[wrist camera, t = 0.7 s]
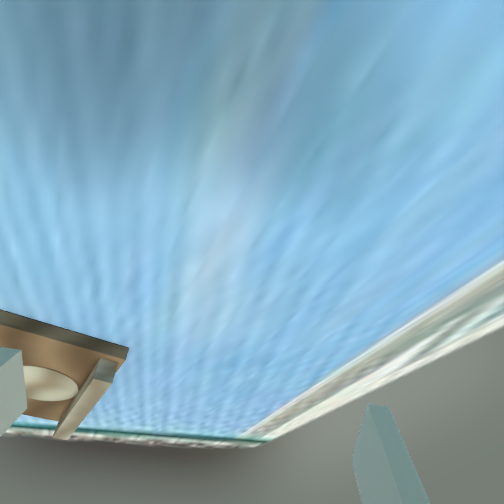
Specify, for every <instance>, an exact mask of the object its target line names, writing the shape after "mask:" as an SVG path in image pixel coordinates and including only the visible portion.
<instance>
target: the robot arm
mask: <svg viewBox="0 0 504 504" xmlns="http://www.w3.org/2000/svg"><path fill="white" fill-rule="evenodd" d="M26 409H27V400H26V390H25V380H24V370H23V360H22V350H18V349H12V348H5V347H1V348H0V436H1V435H2V434H3V433H4V432H5V431H6V430H7V429H8V428H9V427H10V426H11V425H12V424H13V423H14V422H15V421H16V420H17V419H18V418H19V416H20V415H21V414H22V413H23V412H24V411H25V410H26ZM352 463H353V468H354V472H355V476H356V480H357V485H358V489H359V493H360V497H361V502H362V504H430V502H429V500H428V498H427V495H426V493H425V490H424V488H423V486H422V483H421V481H420V479H419V476H418V474H417V472H416V469H415V467H414V465H413V462H412V460H411V458H410V455H409V453H408V451H407V448H406V446H405V444H404V441H403V439H402V437H401V434H400V432H399V430H398V427H397V425H396V423H395V420H394V418H393V416H392V413H391V411H390V409H389V407H387V406H380V405H374V404H368V405H367V408H366V412H365V415H364V419H363V422H362V426H361V430H360V432H359V436H358V440H357V443H356V446H355V450H354V453H353V457H352Z"/></svg>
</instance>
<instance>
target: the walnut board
mask: <svg viewBox="0 0 504 504" xmlns="http://www.w3.org/2000/svg"><path fill="white" fill-rule="evenodd" d="M1 347H5V348H12V349H18V350H22V360H23V370H24V380H25V390H26V400H27V409H26V410H25V411H24V412H23V413H22V414H24V415H29V416H34V417H39V418H44V419H49V420H54V421H59V422H58V424H57V427H56V430H55V432H54V435H53V437H52V438H58V439H64V440H68V439H69V437H70V436H71V435H72V434H73V432H74V431H75V430H76V428H77V427H78V426H79V425H80V423H81V422H82V421H83V420H84V418H85V417H86V416H87V414H88V413H89V412H90V411H91V409H92V408H93V407H94V406H95V404H96V403H97V402H98V401H99V399H100V398H101V397H102V395H103V394H104V393H105V392H106V390H107V389H108V388H109V387H110V385H111V384H112V382H113V378H114V375H115V373H116V372H117V370H118V369H119V368H120V366H121V365H122V364H123V363H124V361H125V360H126V357H127V353H128V350H129V348H127V347H123V346H120V345H117V344H113V343H110V342H107V341H103V340H100V339H97V338H93V337H90V336H86V335H83V334H80V333H76V332H73V331H70V330H66V329H63V328H60V327H56V326H53V325H50V324H46V323H43V322H39V321H36V320H33V319H29V318H26V317H23V316H19V315H16V314H13V313H9V312H6V311H3V310H0V348H1Z"/></svg>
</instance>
